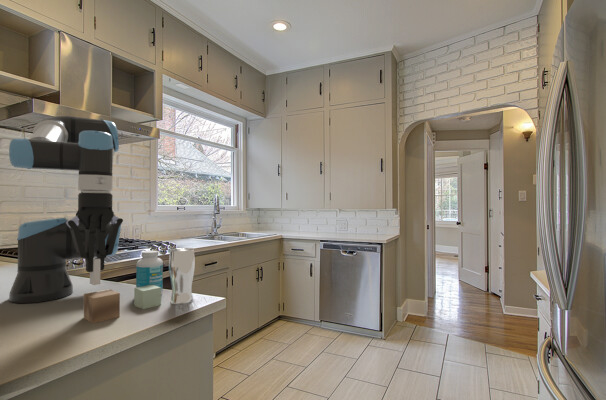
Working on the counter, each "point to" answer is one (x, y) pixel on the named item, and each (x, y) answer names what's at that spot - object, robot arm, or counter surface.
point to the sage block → (147, 296)
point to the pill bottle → (149, 270)
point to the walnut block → (101, 305)
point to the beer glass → (181, 274)
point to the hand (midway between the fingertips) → (95, 283)
